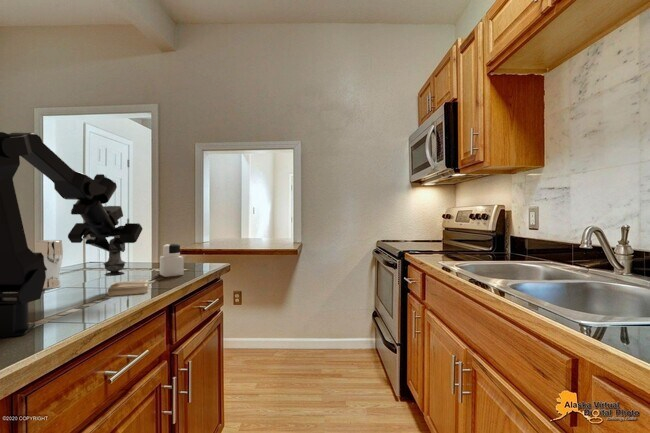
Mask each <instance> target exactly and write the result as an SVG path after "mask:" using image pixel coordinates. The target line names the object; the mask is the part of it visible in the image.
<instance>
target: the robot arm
mask: <svg viewBox="0 0 650 433" xmlns="http://www.w3.org/2000/svg"><path fill="white" fill-rule="evenodd" d="M20 157H21V158H23V160H25V161H26V162H28V163H29V164H30V165H31V166H33V167H34V168H35V169H36V170H37V171H39V172H40V173H41V174H43V175H44V176H45V177H46V178H48V179H49V180H50V181H51V182H53V185H54V186H53V187H54V190H55V191H56V193H58V194H59V195H60V197H62V199H64V200H74V201H75V200H77V201H76V202H75V203H73V204H72V205H73V206H72V209H71V210H70V214H71V215H76V216H77V215H80V217H81V218H82V220H83V221H84V222H76V223H75V224H74V226H73V227H71V228H72V229H71V230H69V231H70V232H68V234H67V238H68V240H69V241H70V242H71V243H73V244H79V243H82V242H83V241H84V239H85V245H90V246H93V247H96V248H98V249H101V250H104V251H107V252H108V253H109V251H108V250H109V242H110V241H109V240H108V239H107V238H114V237H115V240H114V242H113V245H115V246H116V247H117V248H118V249H119V250H120V252H122V253H124V252H125V251H126V244H135V243H137V241H138V239H139V238H140V235H141V233H142V231H143V226H142V225H141V224H140V223H138V222H137V223H129V222H126V223H125V224H124V225H119V220H120V219H121V218H123V217H124V213H123V209H122V206H120V205H106V206H105V204H106V203H108V202H109V201H110V199H111V198H112V196H113V195H114V193H115V191H116V190H117V188H118V186H117V183H116V182H114V181H113V179H110V178H109V177H106V176H105V175H104V174H101V173H97V174H95V176H93V177H94V178H92V177H90V176H89V175H87V174H85V173H83V172H80V171H76V170H74V169H73V168H71V166H69V165H68V164H67V163H66V162H65V161H64V160H63V159H62V158H60V157H59V155H57V154H56V153H55V152H54V151H53V150H51V149H50V147H49V146H48V145H46V143H44V141H43V140H42V138H41V136H40V135H38V134H35V133H33V132H10V133H6V132H3V131H0V338H7V337H8V338H9V337H15V336H16V337H17V336H24V335H26V334H27V333H28V332H29V331H31V330H32V329H33V328H34V327H35V326H36V323H35V322H34V323H33V322H31V323H29V322H30V321H29V317H30V316H29V315H30V314H29V313H30V311H29V309H30V308H29V304H30V303H31V302H34V301H38V300H40V299H41V298H42V294H43V291H44V289H43V287H44V283H45V279H46V274H45V271H46V270H47V268H46V267H45V264H44V256H43V255H42V253H35V252H33V251H32V250H31V249H30V248H29V246H28V242H27V237H26V234H25V228H24V223H23V220H22V215H21V211H20V210H21V209H20V207H19V200H18V198H17V194H16V187H15V185H14V176H15V174H16V173H17V171H18V169H19V167H20V165H21V161H20ZM103 204H104V205H103ZM118 225H119V226H118Z"/></svg>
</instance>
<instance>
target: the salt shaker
mask: <svg viewBox="0 0 650 433" xmlns="http://www.w3.org/2000/svg"><path fill="white" fill-rule="evenodd" d="M114 240H115V237H112V238H111V239H110V240H109V241H108V242H109V250H108V251H109V252H108V251H107V252H108V260H107V261H106V262H103V265H104V269H105V270H106V271H108V272H106V273H104V276H105V277H115V276H116V277H117V276H122V275H125V272H123V271H122V270H124V268H125V264H126V263H127V262H126V261H123V260H122V258H121V251H120V250H119V249H118V248H117V247H116V246H115V245H113V242H114Z"/></svg>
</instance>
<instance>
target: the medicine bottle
mask: <svg viewBox="0 0 650 433" xmlns="http://www.w3.org/2000/svg"><path fill="white" fill-rule="evenodd" d="M184 262H185V261H184V256H181V245H179V243H177V244H176V243H167V244H164V245H163V246H162V255H161V256H159V275H160V276H162V277H164V278H166V277H178V276H183V275H184V266H185V265H184Z"/></svg>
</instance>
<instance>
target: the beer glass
mask: <svg viewBox="0 0 650 433" xmlns="http://www.w3.org/2000/svg"><path fill="white" fill-rule="evenodd" d="M63 252H64V251H63V241H62V240H61V239H48V240H47V239H45V240H36V241H35V246H34V253H42V255H43V256H44V264H45V267H46V268H47V270H46V271H45V274H46V279H45V283H44V287H43V290H50V289H56V288H60V287H61V286H62V284H61V279H60V272H61V267H62V263H63Z"/></svg>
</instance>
